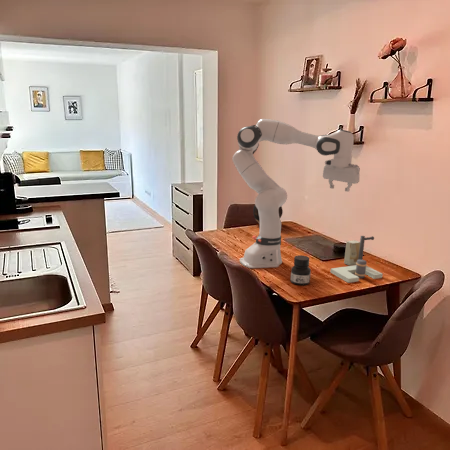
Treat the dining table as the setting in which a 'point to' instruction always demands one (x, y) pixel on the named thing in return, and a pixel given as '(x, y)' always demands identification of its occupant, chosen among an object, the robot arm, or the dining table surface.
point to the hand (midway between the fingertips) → (339, 189)
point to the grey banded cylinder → (360, 268)
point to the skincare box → (351, 252)
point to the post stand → (349, 271)
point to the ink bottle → (300, 270)
